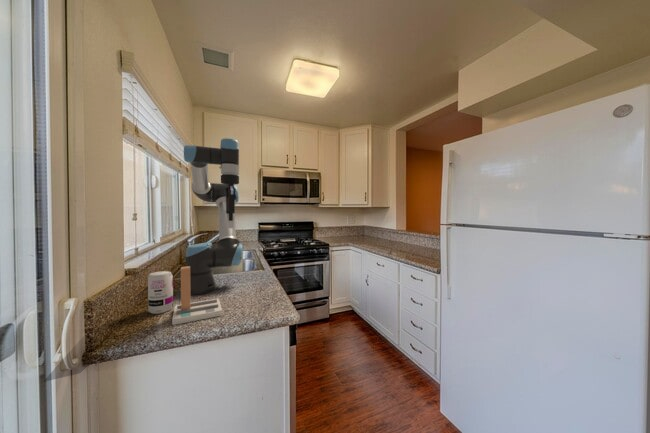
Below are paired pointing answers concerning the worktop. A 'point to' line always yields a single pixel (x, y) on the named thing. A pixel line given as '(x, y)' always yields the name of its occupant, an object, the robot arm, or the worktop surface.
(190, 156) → the robot arm
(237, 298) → the worktop surface
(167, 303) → the supplement can
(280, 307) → the worktop surface
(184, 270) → the orange rectangular block
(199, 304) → the switch base
